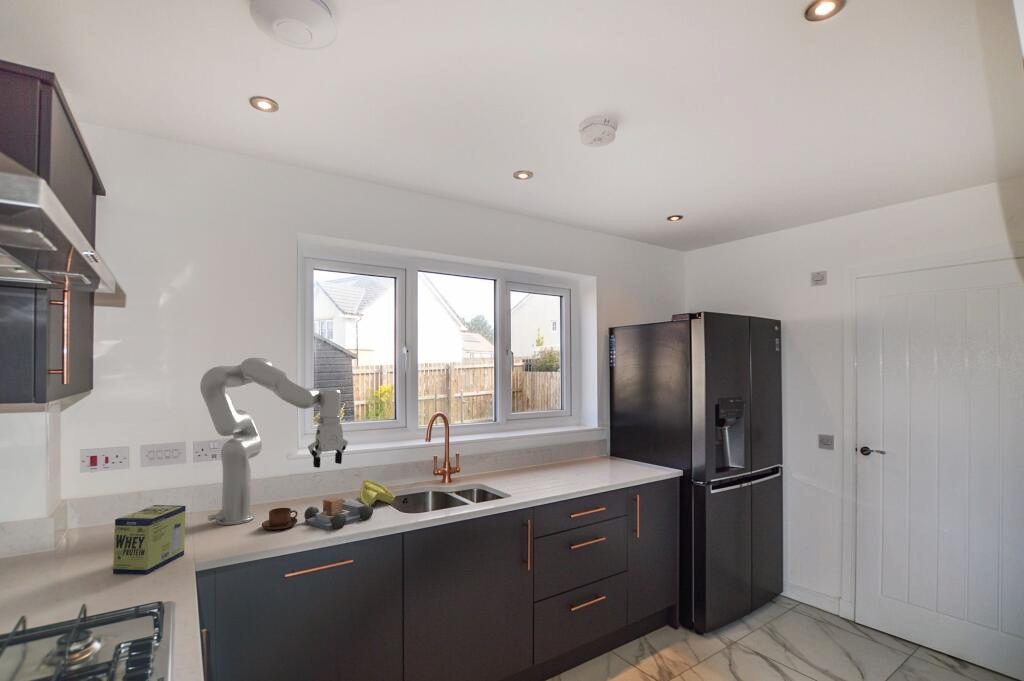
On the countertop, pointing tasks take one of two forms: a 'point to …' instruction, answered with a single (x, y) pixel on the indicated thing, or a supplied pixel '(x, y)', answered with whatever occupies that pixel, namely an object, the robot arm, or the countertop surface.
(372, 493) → the plastic component
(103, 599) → the countertop surface
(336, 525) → the chassis
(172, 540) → the protein box
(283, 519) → the cup and saucer
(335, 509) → the wooden block
